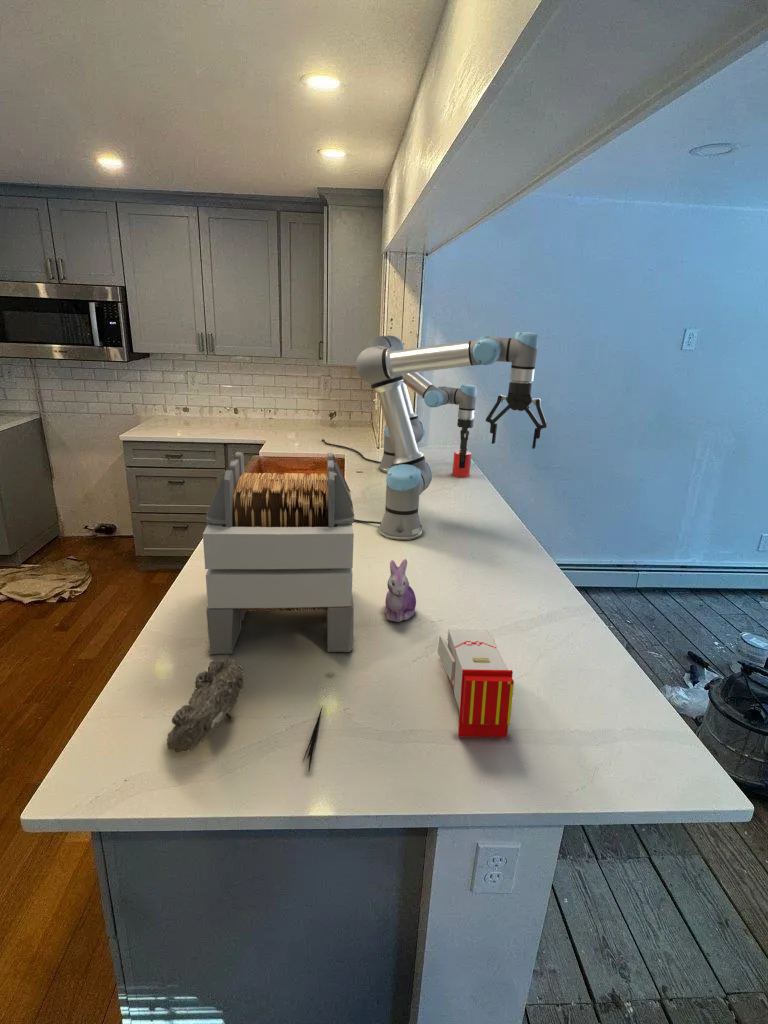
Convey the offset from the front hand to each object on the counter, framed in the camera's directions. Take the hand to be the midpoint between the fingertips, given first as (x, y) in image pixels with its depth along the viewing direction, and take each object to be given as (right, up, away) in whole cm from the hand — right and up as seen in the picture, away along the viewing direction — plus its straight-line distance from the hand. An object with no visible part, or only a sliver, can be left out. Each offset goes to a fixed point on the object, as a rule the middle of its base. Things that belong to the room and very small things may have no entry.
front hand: (513, 445), depth 192 cm
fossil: (-77, -62, -84) cm, 130 cm away
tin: (-7, -5, +83) cm, 83 cm away
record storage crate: (-69, -49, -49) cm, 98 cm away
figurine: (-40, -49, -45) cm, 78 cm away
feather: (-56, -62, -84) cm, 119 cm away
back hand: (-6, 0, +81) cm, 81 cm away
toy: (-26, -60, -74) cm, 99 cm away
